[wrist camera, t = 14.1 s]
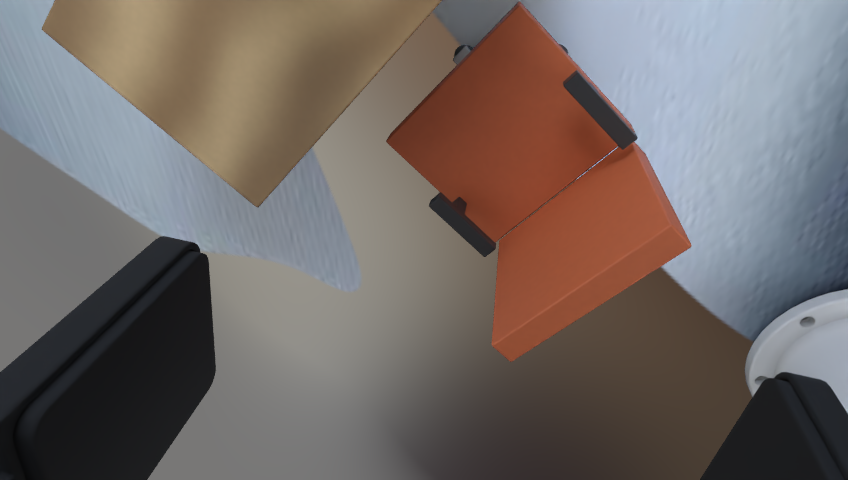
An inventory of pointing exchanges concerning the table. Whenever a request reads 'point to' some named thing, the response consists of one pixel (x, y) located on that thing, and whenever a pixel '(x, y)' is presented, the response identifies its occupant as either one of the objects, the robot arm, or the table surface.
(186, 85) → the desk
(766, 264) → the table surface
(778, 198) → the table surface
